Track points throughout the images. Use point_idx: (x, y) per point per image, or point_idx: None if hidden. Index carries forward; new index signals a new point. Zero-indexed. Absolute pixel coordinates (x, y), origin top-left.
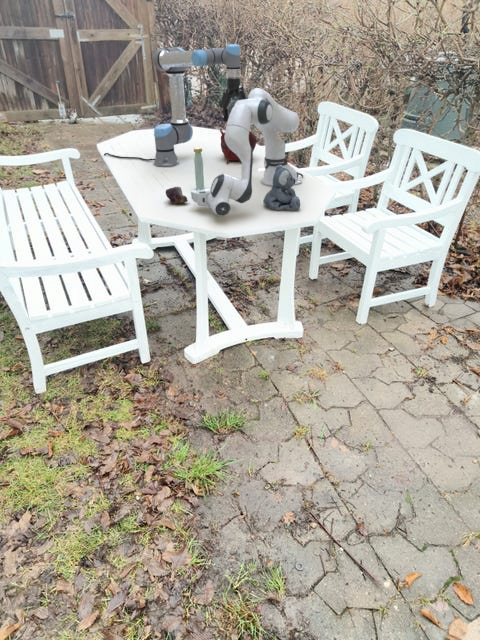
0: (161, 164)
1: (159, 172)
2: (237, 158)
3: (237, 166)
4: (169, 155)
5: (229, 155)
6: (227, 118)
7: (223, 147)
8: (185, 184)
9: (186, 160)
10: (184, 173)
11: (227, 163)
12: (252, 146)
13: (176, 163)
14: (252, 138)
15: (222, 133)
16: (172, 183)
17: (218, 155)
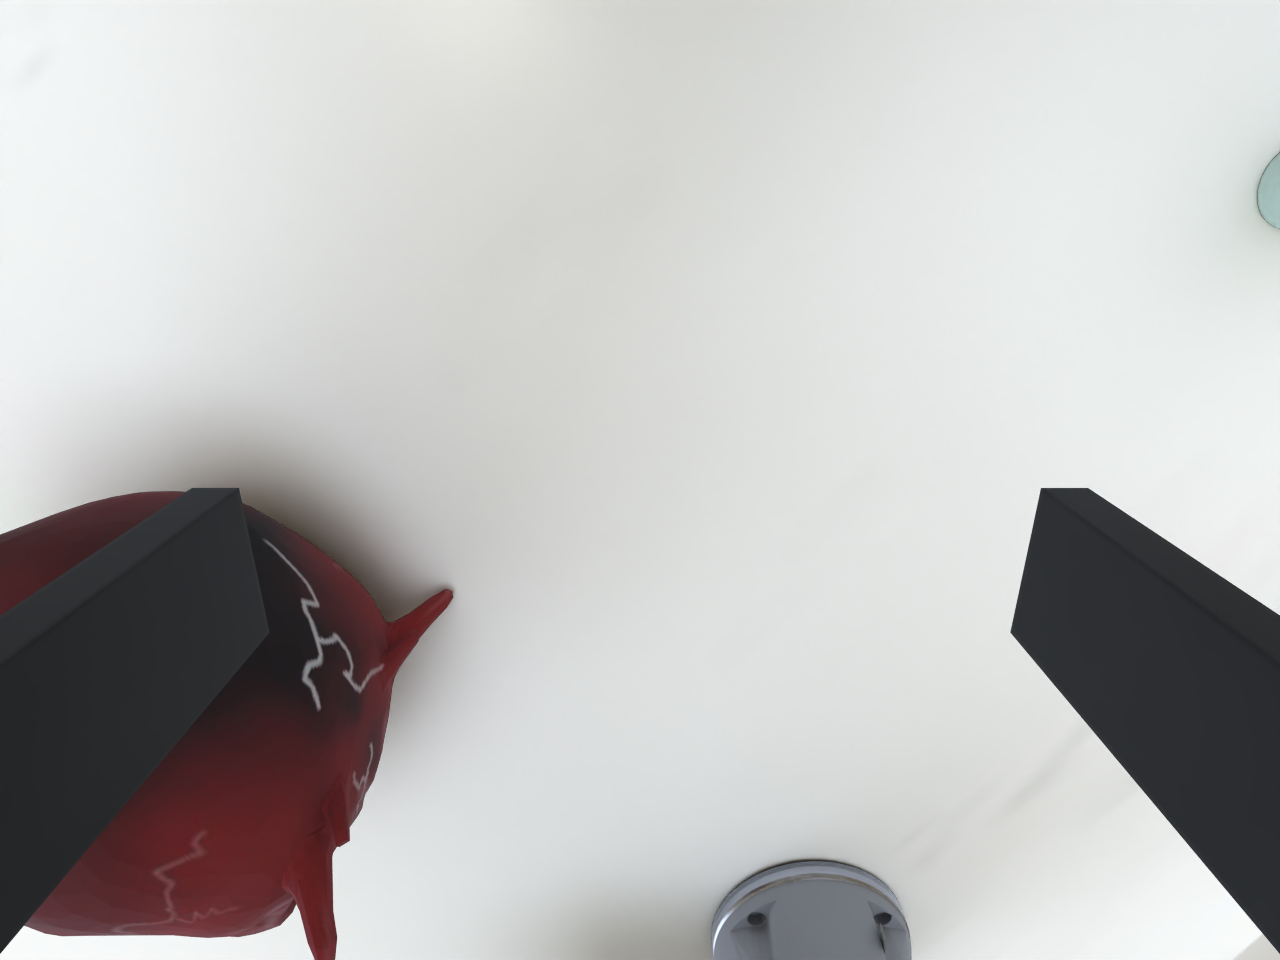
0: (903, 915)
1: (1028, 815)
2: (333, 560)
3: (429, 463)
4: (857, 955)
5: (388, 635)
6: (1131, 528)
7: (377, 757)
8: (1209, 429)
9: (632, 891)
10: (934, 663)
11: (449, 590)
12: (98, 505)
13: (782, 872)
14: (8, 565)
15: (326, 895)
16: (1237, 537)
17: None
